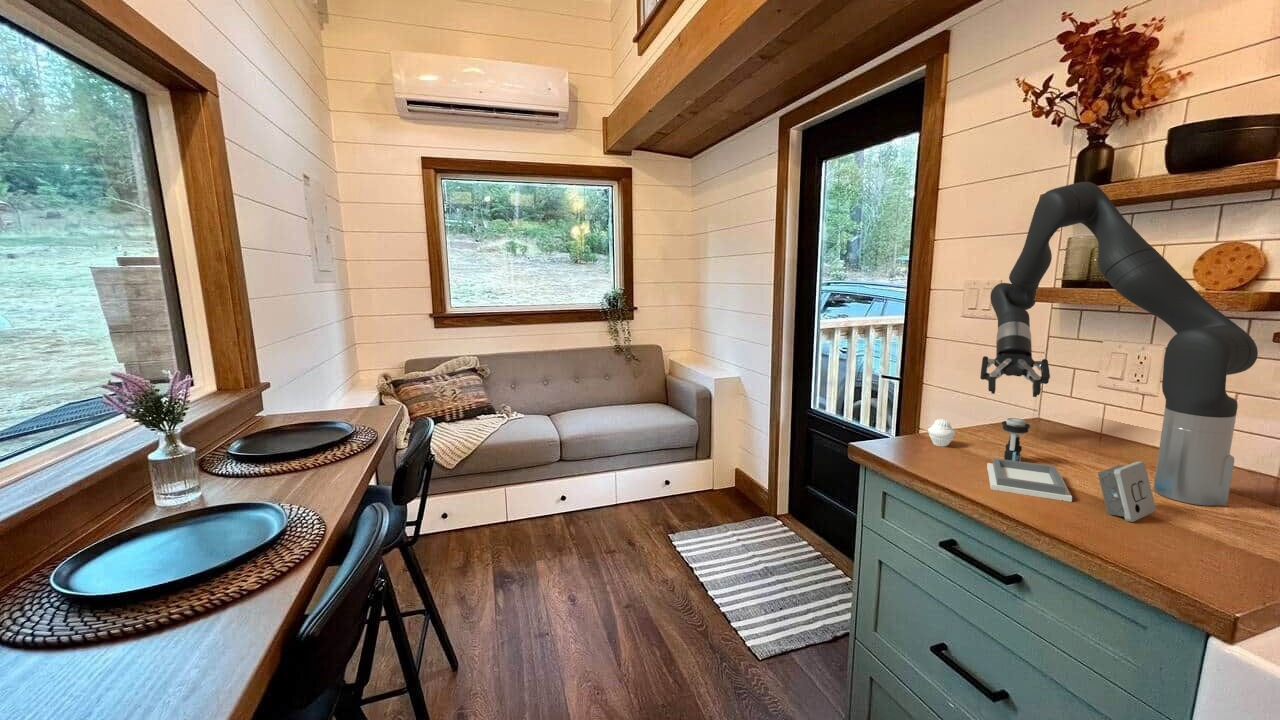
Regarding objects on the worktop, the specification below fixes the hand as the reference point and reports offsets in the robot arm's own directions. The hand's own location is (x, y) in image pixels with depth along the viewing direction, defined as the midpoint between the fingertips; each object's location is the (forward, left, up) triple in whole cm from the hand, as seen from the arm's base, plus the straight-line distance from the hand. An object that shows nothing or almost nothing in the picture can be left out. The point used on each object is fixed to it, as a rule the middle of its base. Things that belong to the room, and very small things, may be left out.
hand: (1014, 393), depth 129 cm
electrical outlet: (-15, +33, -14) cm, 39 cm away
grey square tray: (-1, +25, -14) cm, 29 cm away
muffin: (+15, +5, -14) cm, 21 cm away
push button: (0, +10, -14) cm, 17 cm away
